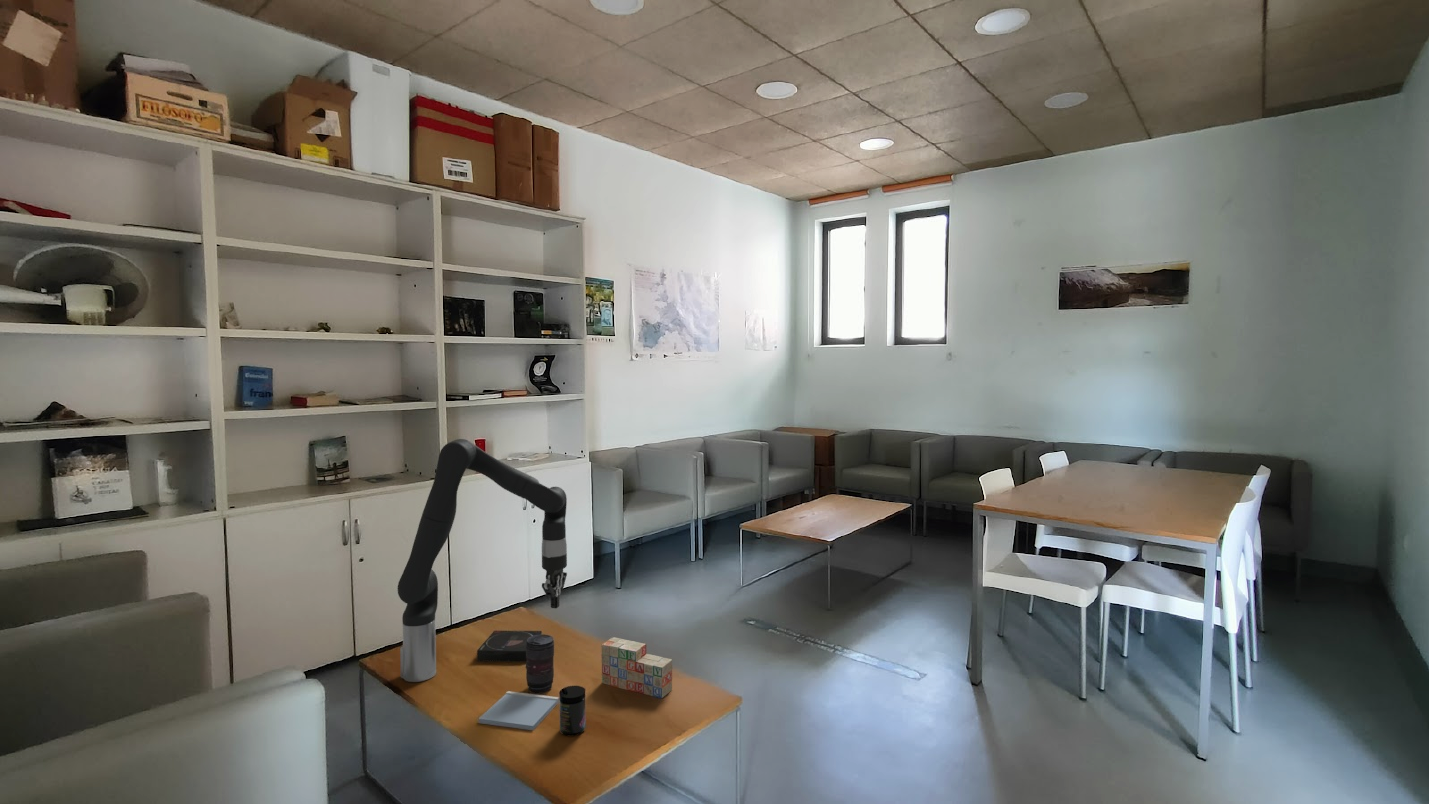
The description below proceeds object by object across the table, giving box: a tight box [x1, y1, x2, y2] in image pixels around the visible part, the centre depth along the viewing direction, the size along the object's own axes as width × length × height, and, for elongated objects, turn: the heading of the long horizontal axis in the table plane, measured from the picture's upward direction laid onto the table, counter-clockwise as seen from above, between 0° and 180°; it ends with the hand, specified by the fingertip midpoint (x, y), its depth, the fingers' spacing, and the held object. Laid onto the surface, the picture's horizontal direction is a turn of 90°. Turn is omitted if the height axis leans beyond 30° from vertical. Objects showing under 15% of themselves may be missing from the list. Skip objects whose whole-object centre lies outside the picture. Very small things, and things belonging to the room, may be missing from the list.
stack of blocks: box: [600, 636, 673, 699], centre depth 200 cm, size 21×6×12 cm, turn 63°
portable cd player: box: [476, 630, 543, 663], centre depth 225 cm, size 16×17×4 cm
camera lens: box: [525, 633, 555, 694], centre depth 198 cm, size 8×8×15 cm
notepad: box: [478, 690, 559, 731], centre depth 185 cm, size 16×15×2 cm
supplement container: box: [558, 685, 586, 737], centre depth 176 cm, size 7×7×10 cm
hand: (555, 607), depth 207 cm, fingers closed
